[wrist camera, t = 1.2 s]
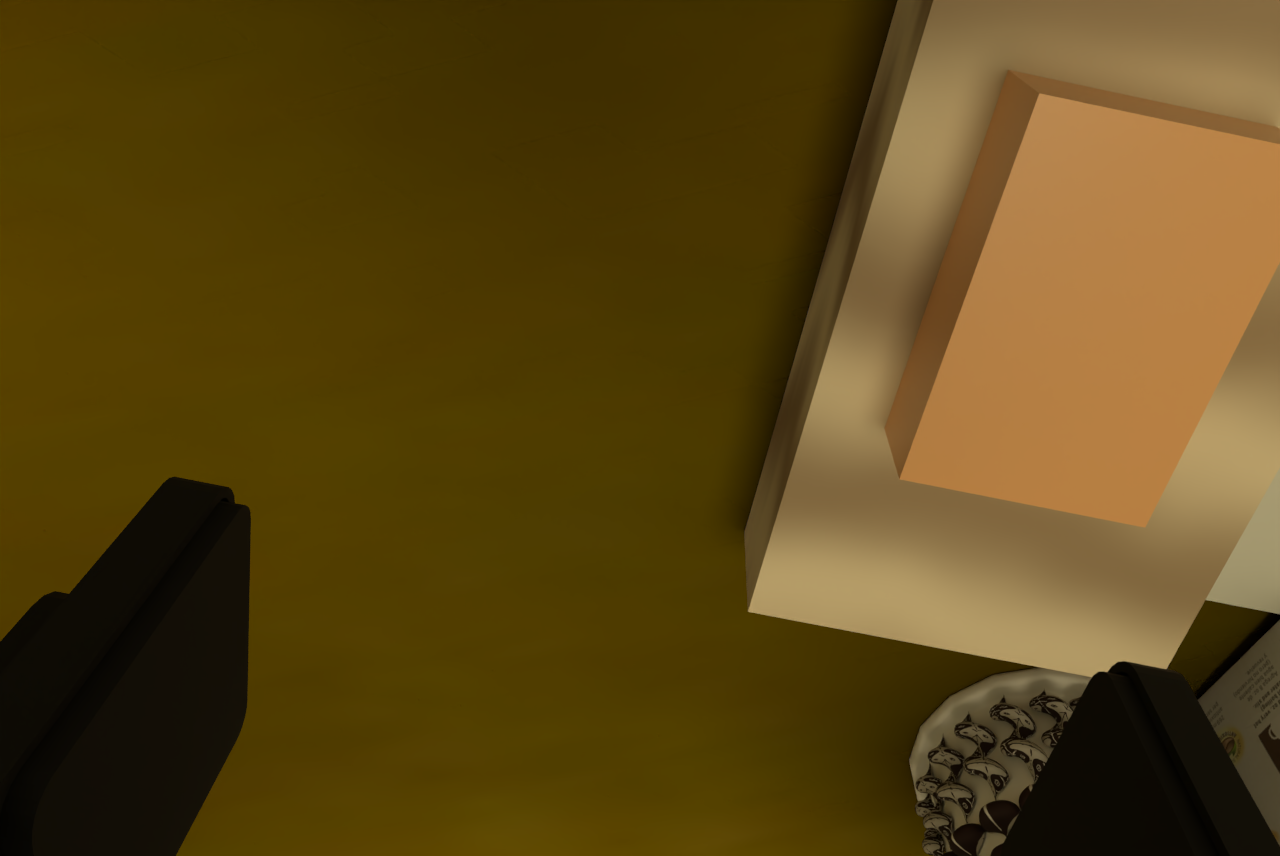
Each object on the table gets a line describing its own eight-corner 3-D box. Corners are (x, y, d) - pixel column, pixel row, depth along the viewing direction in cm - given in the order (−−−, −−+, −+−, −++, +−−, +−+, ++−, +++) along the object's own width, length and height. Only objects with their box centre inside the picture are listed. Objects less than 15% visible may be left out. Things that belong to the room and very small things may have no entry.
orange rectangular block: (1008, 69, 23) (1039, 93, 21) (1275, 126, 23) (1334, 155, 21) (884, 428, 27) (898, 479, 25) (1110, 473, 28) (1145, 527, 25)
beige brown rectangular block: (980, -286, 23) (1027, -310, 20) (1502, -169, 24) (1638, -171, 20) (744, 532, 34) (747, 611, 30) (1110, 603, 34) (1155, 689, 31)
